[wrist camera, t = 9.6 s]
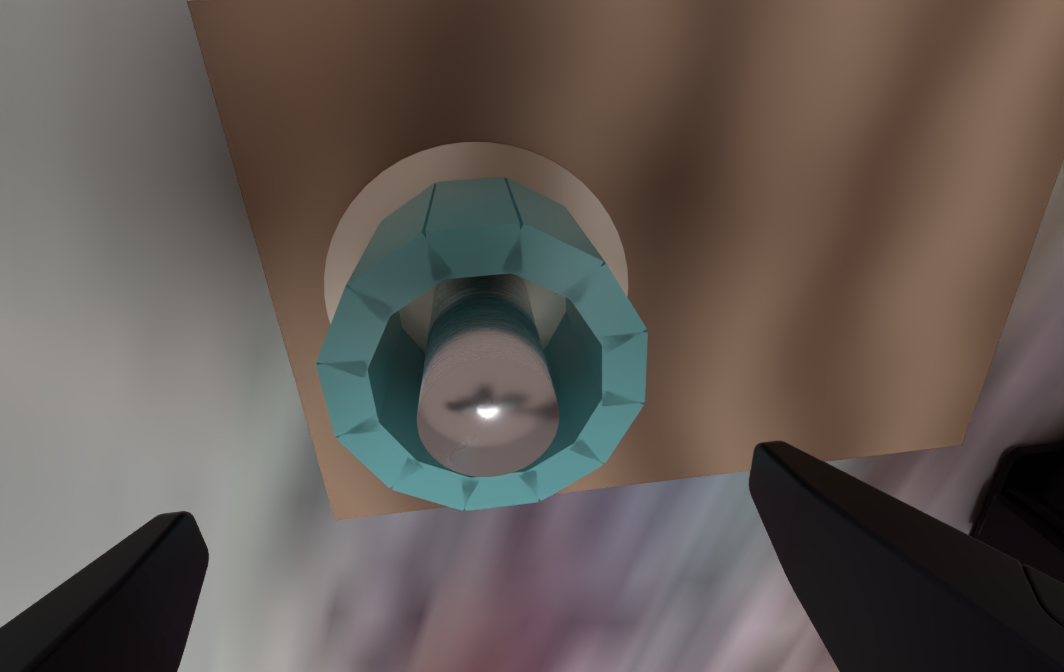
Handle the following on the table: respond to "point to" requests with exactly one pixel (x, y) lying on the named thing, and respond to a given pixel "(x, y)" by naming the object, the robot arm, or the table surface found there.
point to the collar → (397, 361)
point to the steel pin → (485, 379)
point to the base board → (674, 193)
